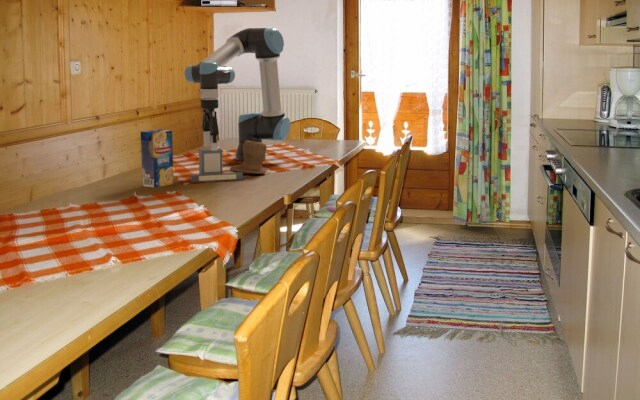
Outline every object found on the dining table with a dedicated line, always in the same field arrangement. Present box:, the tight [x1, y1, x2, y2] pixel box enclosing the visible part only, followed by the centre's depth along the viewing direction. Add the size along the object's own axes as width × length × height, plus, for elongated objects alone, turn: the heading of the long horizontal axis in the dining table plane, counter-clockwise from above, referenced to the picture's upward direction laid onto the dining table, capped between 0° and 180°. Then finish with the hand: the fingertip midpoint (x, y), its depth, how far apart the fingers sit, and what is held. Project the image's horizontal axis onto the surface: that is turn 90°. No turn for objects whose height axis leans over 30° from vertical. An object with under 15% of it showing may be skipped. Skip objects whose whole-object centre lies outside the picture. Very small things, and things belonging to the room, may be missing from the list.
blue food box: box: [140, 129, 175, 188], centre depth 314 cm, size 7×11×22 cm, turn 148°
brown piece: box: [229, 140, 267, 175], centre depth 345 cm, size 15×12×15 cm
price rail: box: [190, 172, 244, 184], centre depth 326 cm, size 2×22×3 cm, turn 111°
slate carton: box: [198, 147, 223, 175], centre depth 336 cm, size 9×5×12 cm, turn 112°
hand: (210, 148), depth 335 cm, fingers open, 13 cm apart
